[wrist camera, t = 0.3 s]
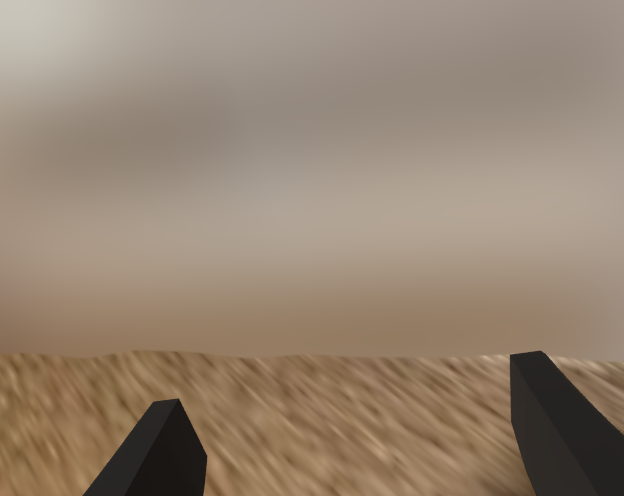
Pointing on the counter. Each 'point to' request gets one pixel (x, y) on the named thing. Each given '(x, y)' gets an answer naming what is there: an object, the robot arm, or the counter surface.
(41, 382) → the counter surface
